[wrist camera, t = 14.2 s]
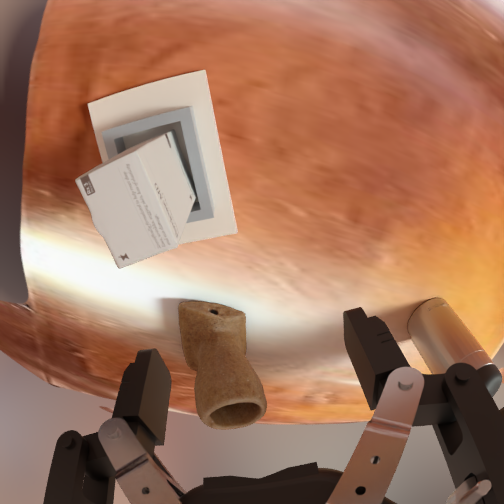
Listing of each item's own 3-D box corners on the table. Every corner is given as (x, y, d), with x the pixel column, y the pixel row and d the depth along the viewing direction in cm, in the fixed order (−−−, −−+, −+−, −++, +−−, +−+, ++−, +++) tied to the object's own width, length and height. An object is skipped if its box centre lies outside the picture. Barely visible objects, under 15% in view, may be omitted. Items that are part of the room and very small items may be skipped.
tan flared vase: (254, 365, 53) (264, 439, 40) (185, 365, 52) (180, 440, 39) (261, 295, 46) (276, 376, 33) (178, 294, 45) (166, 376, 32)
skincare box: (199, 190, 37) (186, 252, 24) (153, 208, 37) (119, 275, 24) (172, 124, 33) (139, 148, 20) (125, 145, 33) (70, 182, 20)
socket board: (237, 229, 41) (238, 244, 37) (134, 250, 41) (126, 265, 37) (205, 70, 31) (203, 67, 27) (90, 103, 31) (77, 105, 27)
